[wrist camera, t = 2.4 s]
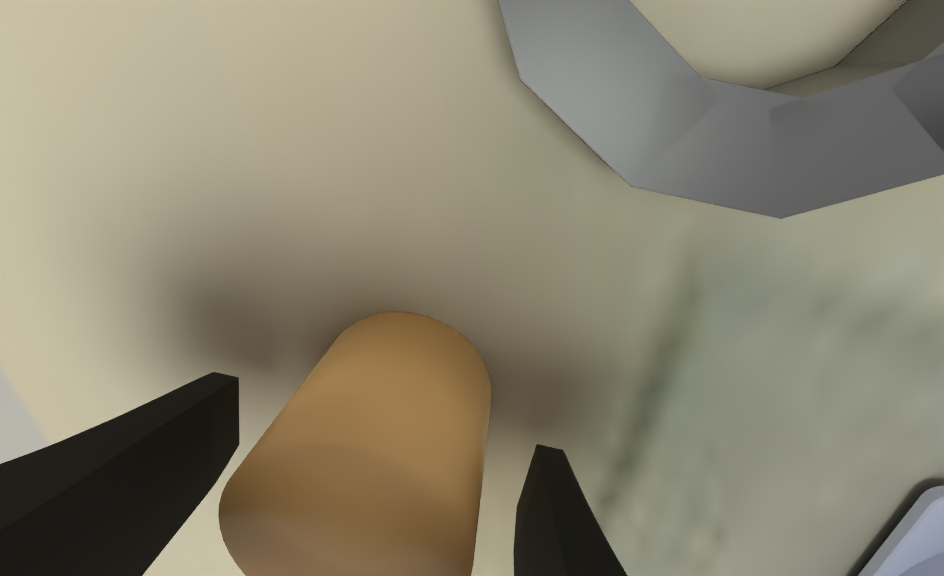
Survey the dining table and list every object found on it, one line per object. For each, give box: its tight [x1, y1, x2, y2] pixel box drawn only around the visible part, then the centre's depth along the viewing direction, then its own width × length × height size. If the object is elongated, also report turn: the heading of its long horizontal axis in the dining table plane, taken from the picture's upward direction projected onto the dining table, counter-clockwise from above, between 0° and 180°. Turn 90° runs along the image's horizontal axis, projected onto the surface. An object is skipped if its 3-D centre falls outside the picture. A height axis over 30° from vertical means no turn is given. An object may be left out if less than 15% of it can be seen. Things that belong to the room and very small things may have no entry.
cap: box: [219, 312, 492, 576], centre depth 11 cm, size 5×5×5 cm
